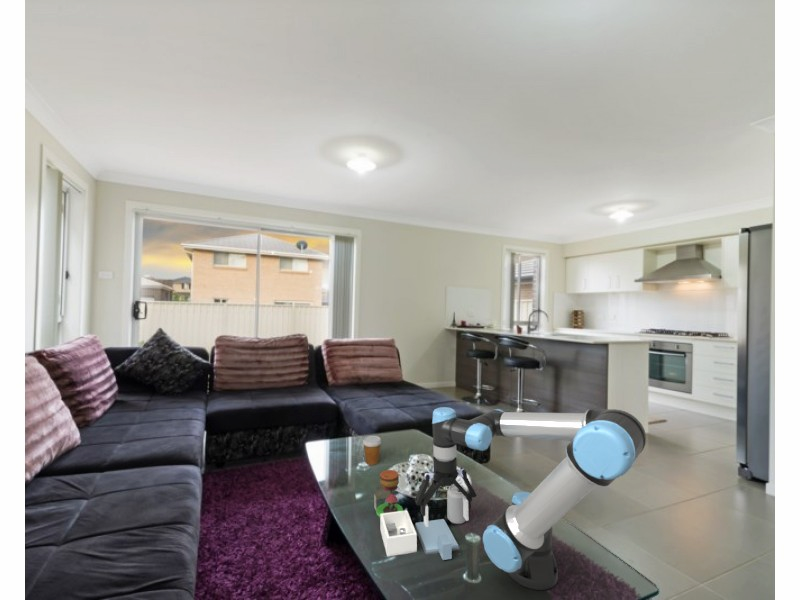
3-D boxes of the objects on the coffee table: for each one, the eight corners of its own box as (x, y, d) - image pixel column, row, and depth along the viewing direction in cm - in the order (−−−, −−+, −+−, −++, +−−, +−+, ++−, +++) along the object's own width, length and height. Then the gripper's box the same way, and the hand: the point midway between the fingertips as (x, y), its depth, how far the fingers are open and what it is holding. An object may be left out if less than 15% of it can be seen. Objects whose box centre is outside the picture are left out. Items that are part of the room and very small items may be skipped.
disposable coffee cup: (360, 459, 194) (360, 436, 194) (378, 457, 197) (378, 434, 197) (364, 468, 185) (364, 443, 185) (383, 465, 188) (383, 441, 188)
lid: (463, 556, 123) (463, 541, 123) (430, 562, 121) (430, 546, 120) (443, 520, 142) (443, 507, 142) (415, 525, 140) (415, 511, 140)
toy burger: (408, 504, 154) (408, 467, 153) (399, 522, 142) (399, 483, 141) (380, 500, 157) (380, 464, 157) (370, 517, 145) (369, 479, 145)
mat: (460, 549, 127) (460, 548, 127) (425, 554, 124) (425, 553, 124) (445, 522, 142) (445, 521, 142) (414, 527, 139) (414, 525, 139)
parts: (409, 546, 128) (409, 537, 128) (391, 549, 126) (391, 540, 126) (402, 528, 137) (402, 520, 137) (386, 530, 136) (386, 522, 136)
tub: (416, 551, 126) (416, 534, 126) (387, 556, 124) (387, 538, 124) (407, 526, 140) (407, 510, 139) (380, 530, 137) (380, 513, 137)
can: (466, 526, 139) (466, 494, 139) (446, 524, 141) (446, 492, 140) (467, 514, 147) (467, 484, 146) (447, 512, 148) (447, 482, 148)
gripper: (476, 448, 129) (477, 509, 129) (404, 456, 124) (406, 520, 124) (485, 457, 122) (486, 522, 122) (410, 466, 117) (411, 534, 117)
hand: (446, 521), depth 123 cm, fingers open, 13 cm apart
